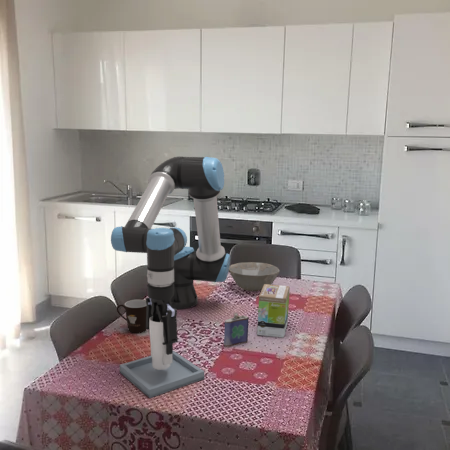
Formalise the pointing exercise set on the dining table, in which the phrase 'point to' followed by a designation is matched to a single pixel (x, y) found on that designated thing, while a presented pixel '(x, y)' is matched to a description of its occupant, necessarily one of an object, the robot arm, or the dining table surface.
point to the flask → (236, 330)
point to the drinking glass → (157, 344)
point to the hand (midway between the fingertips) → (161, 359)
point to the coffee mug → (135, 315)
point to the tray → (161, 375)
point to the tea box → (273, 310)
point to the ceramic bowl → (253, 275)
